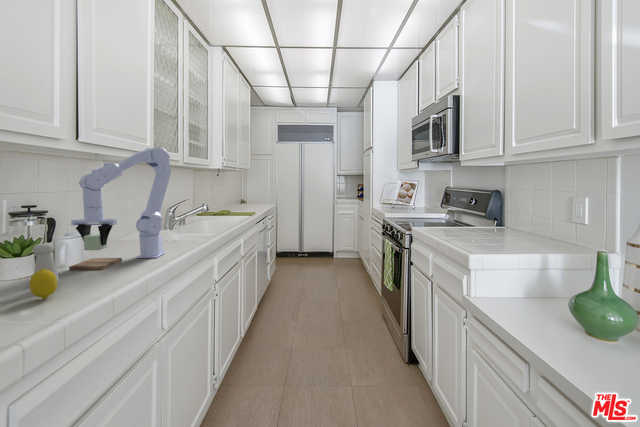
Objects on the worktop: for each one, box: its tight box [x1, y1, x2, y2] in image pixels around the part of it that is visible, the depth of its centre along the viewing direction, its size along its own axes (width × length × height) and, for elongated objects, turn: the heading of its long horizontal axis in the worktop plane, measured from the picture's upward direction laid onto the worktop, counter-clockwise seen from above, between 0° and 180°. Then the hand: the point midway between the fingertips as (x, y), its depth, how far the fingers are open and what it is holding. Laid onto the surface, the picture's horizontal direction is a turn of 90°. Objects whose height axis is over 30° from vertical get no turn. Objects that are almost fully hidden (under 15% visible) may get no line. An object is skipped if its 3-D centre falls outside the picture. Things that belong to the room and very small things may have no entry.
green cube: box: [83, 233, 108, 251], centre depth 121 cm, size 5×5×5 cm
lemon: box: [29, 269, 58, 300], centre depth 87 cm, size 6×6×8 cm
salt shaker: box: [33, 242, 60, 286], centre depth 94 cm, size 6×6×13 cm
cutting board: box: [68, 257, 123, 271], centre depth 122 cm, size 13×11×1 cm
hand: (95, 245), depth 121 cm, fingers closed on green cube, 5 cm apart
